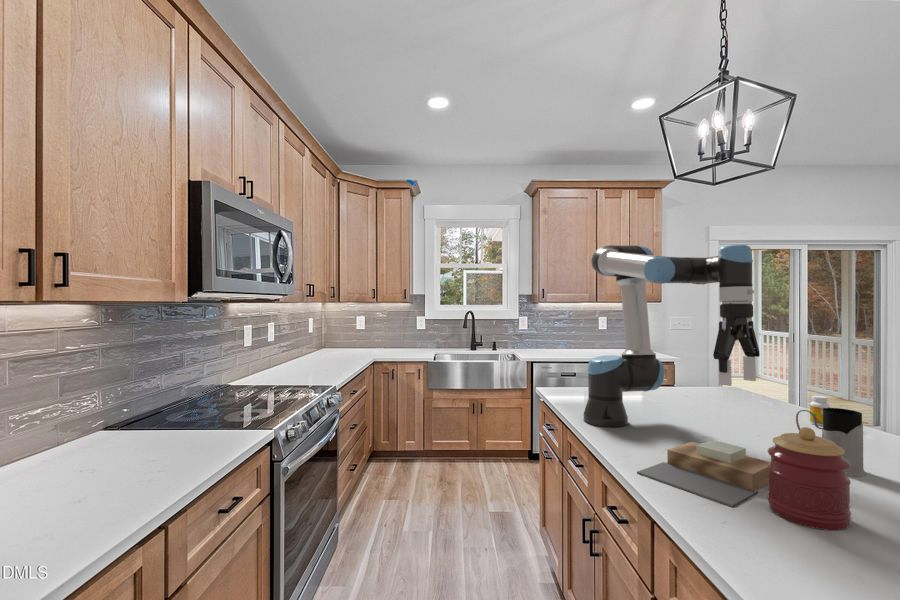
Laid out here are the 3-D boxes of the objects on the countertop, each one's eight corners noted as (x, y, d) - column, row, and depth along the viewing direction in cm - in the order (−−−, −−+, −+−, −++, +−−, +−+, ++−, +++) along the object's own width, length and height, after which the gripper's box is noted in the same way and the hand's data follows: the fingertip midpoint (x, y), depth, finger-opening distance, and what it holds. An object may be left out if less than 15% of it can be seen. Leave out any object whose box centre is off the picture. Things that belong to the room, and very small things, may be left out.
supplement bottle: (806, 421, 157) (806, 394, 157) (822, 422, 157) (822, 395, 157) (816, 426, 152) (816, 398, 152) (833, 426, 151) (833, 398, 151)
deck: (667, 464, 116) (667, 449, 116) (691, 455, 122) (691, 441, 122) (752, 491, 99) (752, 474, 99) (775, 480, 106) (775, 463, 106)
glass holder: (859, 479, 106) (858, 417, 106) (789, 461, 118) (789, 405, 118) (871, 471, 111) (870, 412, 111) (803, 455, 123) (802, 401, 123)
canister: (827, 538, 80) (826, 440, 80) (753, 507, 92) (753, 423, 92) (865, 523, 85) (865, 432, 85) (791, 496, 97) (790, 416, 97)
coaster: (696, 453, 112) (696, 445, 112) (712, 448, 117) (712, 439, 117) (730, 463, 106) (730, 454, 106) (745, 456, 110) (745, 448, 110)
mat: (636, 473, 110) (636, 471, 110) (663, 463, 117) (663, 462, 117) (732, 507, 92) (732, 505, 92) (757, 493, 98) (757, 491, 98)
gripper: (728, 302, 108) (730, 389, 107) (772, 303, 121) (774, 380, 121) (697, 303, 114) (698, 385, 113) (742, 303, 127) (744, 377, 127)
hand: (737, 382), depth 117 cm, fingers open, 13 cm apart
